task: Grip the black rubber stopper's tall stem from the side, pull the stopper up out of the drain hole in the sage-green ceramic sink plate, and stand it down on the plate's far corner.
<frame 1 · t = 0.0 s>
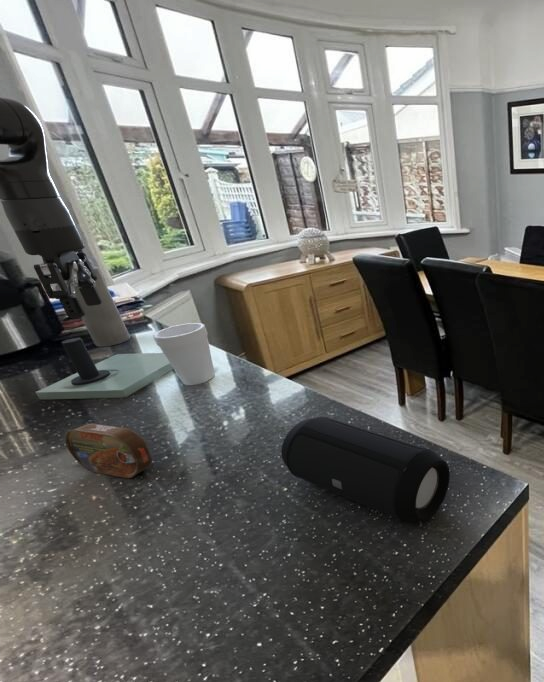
hand: (86, 310, 77), 22 cm above the kitchen counter, tool pointing down, fingers open, 8 cm apart
portable speaker: (369, 491, 61), on the kitchen counter
stopper: (95, 385, 95), resting in sink plate
tin: (120, 470, 67), on the kitchen counter
thermos bottle: (113, 342, 121), on the kitchen counter
sink plate: (122, 377, 98), on the kitchen counter
foam cup: (199, 379, 96), on the kitchen counter
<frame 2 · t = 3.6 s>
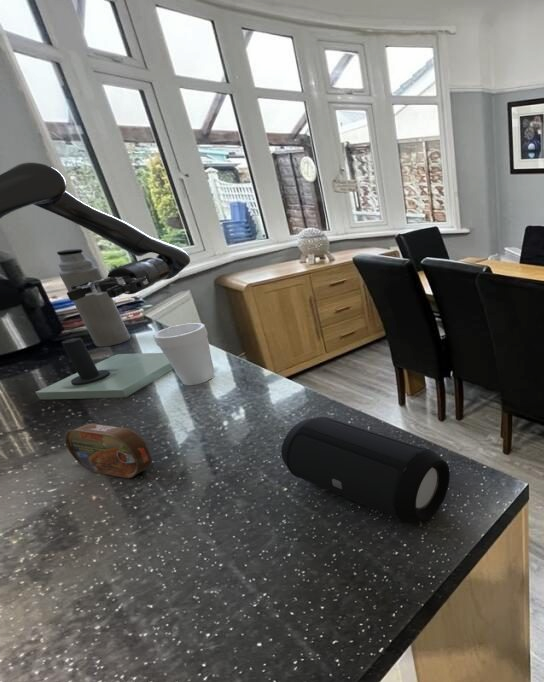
hand: (89, 295, 96), 20 cm above the kitchen counter, tool horizontal, fingers open, 8 cm apart
nothing on the kitchen counter moved.
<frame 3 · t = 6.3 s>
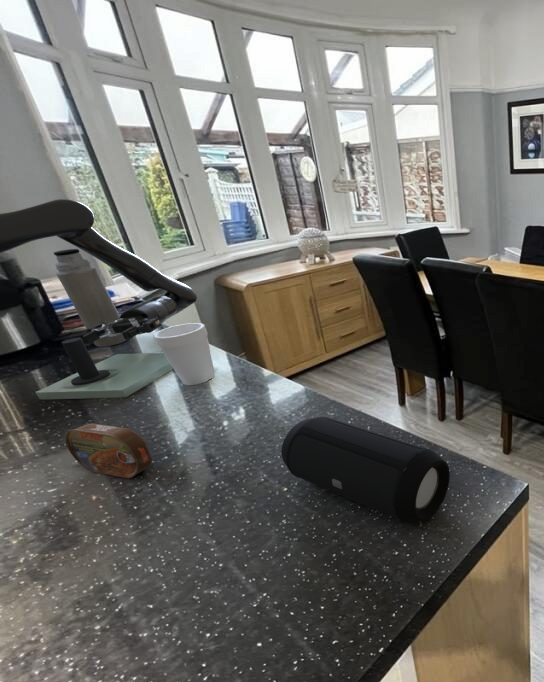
hand: (105, 338, 99), 9 cm above the kitchen counter, tool horizontal, fingers open, 8 cm apart
thermos bottle: (113, 341, 121), on the kitchen counter, touching arm
everything else where it was.
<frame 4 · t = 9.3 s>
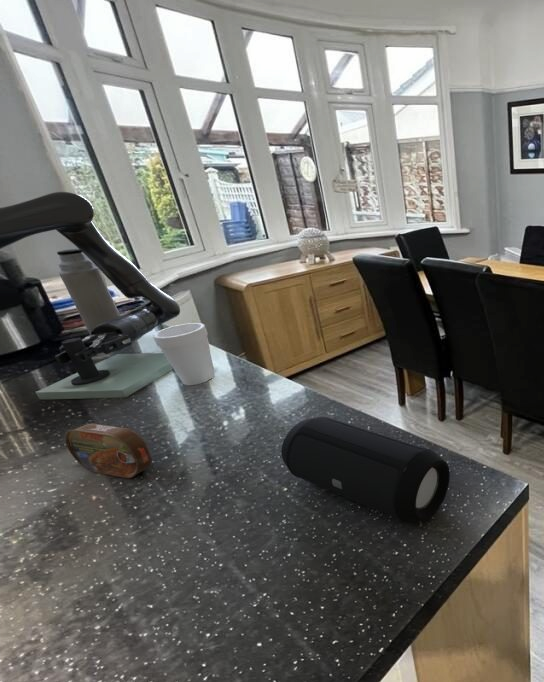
hand: (68, 359, 89), 9 cm above the kitchen counter, tool horizontal, fingers closed on stopper, 3 cm apart
stopper: (95, 385, 95), resting in sink plate, touching gripper
thermos bottle: (113, 342, 121), on the kitchen counter
everything else where it was.
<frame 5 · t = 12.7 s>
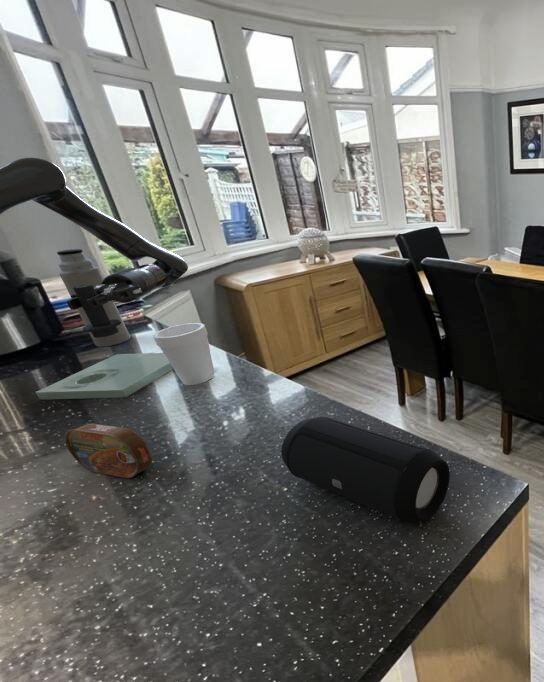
hand: (80, 304, 88), 20 cm above the kitchen counter, tool horizontal, fingers closed on stopper, 3 cm apart
stopper: (106, 334, 94), point 11 cm above the kitchen counter, touching gripper
everything else where it was.
when the fingers open (10 cm above the kitchen counter, at t = 16.3 s): stopper stays where it is, resting on sink plate.
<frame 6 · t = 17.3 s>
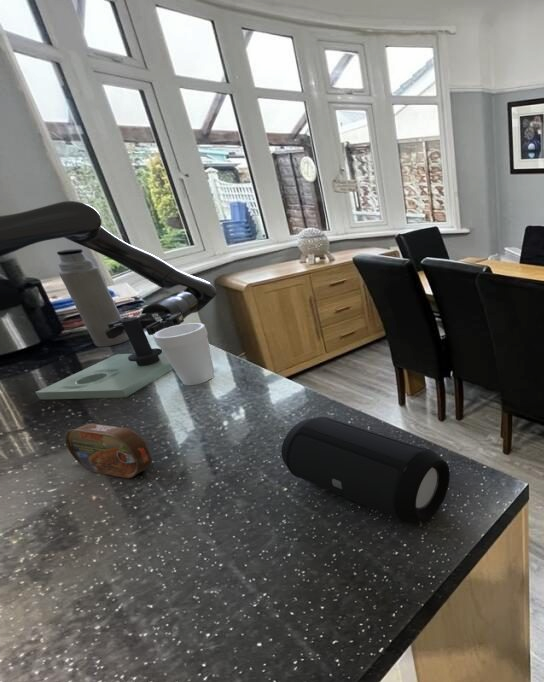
hand: (128, 333, 96), 11 cm above the kitchen counter, tool horizontal, fingers open, 8 cm apart
stopper: (149, 362, 101), point 2 cm above the kitchen counter, touching sink plate
everything else where it was.
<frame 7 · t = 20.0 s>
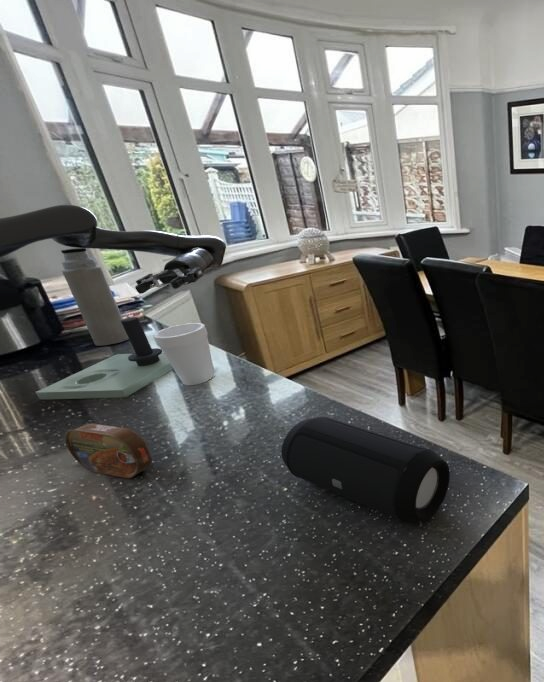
hand: (156, 287, 105), 19 cm above the kitchen counter, tool horizontal, fingers open, 8 cm apart
thermos bottle: (113, 341, 121), on the kitchen counter, touching arm
everything else where it was.
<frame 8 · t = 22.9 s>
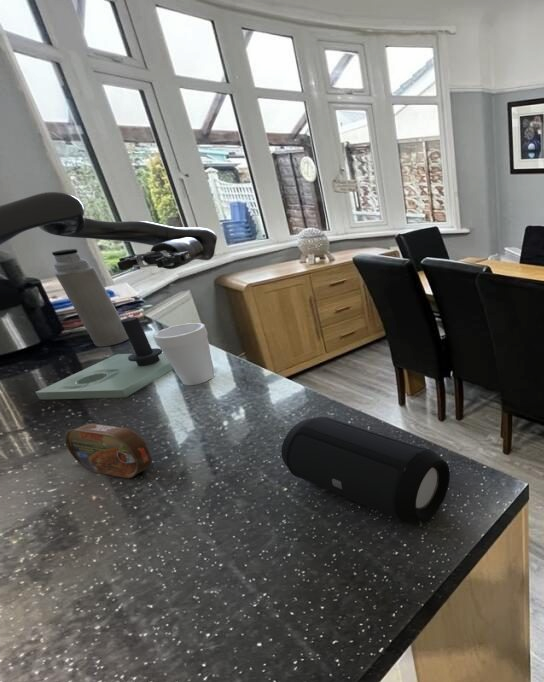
hand: (139, 265, 102), 25 cm above the kitchen counter, tool horizontal, fingers open, 8 cm apart
thermos bottle: (113, 341, 121), on the kitchen counter
everything else where it was.
at the end: stopper inside the target area on the sink plate (5.7 cm from its centre), point 1.9 cm above the sink plate's base; stopper moved 10.9 cm from its start; the gripper is holding nothing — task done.
